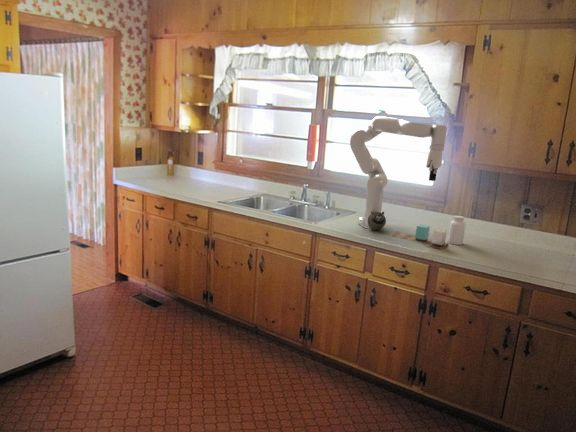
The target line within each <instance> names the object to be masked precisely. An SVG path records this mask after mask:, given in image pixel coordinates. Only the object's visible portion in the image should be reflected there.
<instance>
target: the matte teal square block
mask: <svg viewBox="0 0 576 432" xmlns="http://www.w3.org/2000/svg"><path fill="white" fill-rule="evenodd" d="M429 234H430V226H429V225H424V224H418V225H416V230H415V235H414V236H415V238H418V239H423V240H425V239H429Z"/></svg>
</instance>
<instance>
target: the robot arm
mask: <svg viewBox="0 0 576 432" xmlns="http://www.w3.org/2000/svg"><path fill="white" fill-rule="evenodd" d="M447 130H448V127H447V126H446V125H444V124H432V123H426V122H425V123H423V122H422V123H421V122H417V121H415V122H414V121H410V120H409V121H408V120H404V119H402V118H395V117H389V116H382V115H381V116H380V115H377V116H375V117H374V118H373V119H372V120H371V122H370V123H368V124H367V125H366V126H364V127H358V128H357V129H355V131H354V132H353V133H352V135H351V136H350V138H349V141H350V142H349V143H350V144H349V146H350V150H351V151H352V153H353V156H354V157H355V160H356V161H357V164H358V165H359V167H360V170H361V171H362V173H364V174H365V175H368V180H367V182H366V199H365V209H364V217H358V222H361V224H360V226H361V227H362V228H364V229H369V228H370V229H372V228H371V227H370V226H369V225H368V217H369V216H370V214H371V211H372V212H380V213H382V210H383V209H382V208H383V200H384V199H383V198H384V188H385V187H386V186H387V184H388V178H387V174H386V173H385V171H384V169H383V167H382V165H381V163H380V162H379V160H378V159H377V158H376V157H374V156H372V154H371V153H370V151H369V149H368V147H367V146H366V143H367V142H370V141H372V140H373V139H374V138H375V137H378V136H379V135H380V134H381V133H387V134H394V135H395V134H396V135H400V136H402V135H403V136H409V137H416V138H423V139H424V138H428V137H430V144H429V151H428V156H427V160H426V165H425V166H426V168H427V169H428V170H429V174H428V175H429V177H428V180H429V181H432V182H435V181H436V180H437V173H438V170H439V168H441V166H442V161H443V160H442V158H443V151H444V148H445V141H446V137H447Z"/></svg>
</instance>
